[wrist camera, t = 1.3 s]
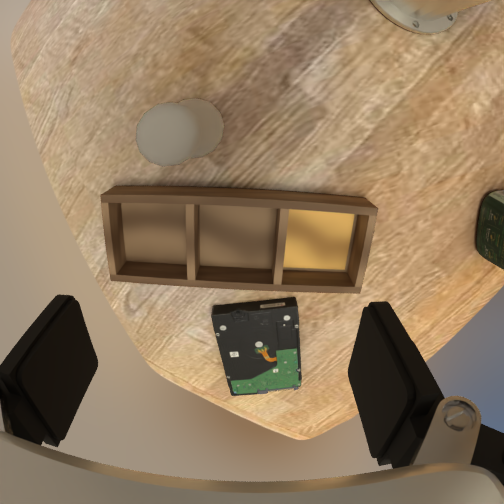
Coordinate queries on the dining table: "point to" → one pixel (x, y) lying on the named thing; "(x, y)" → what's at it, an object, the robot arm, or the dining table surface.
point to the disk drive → (259, 345)
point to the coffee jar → (492, 228)
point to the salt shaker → (179, 131)
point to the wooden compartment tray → (237, 238)
